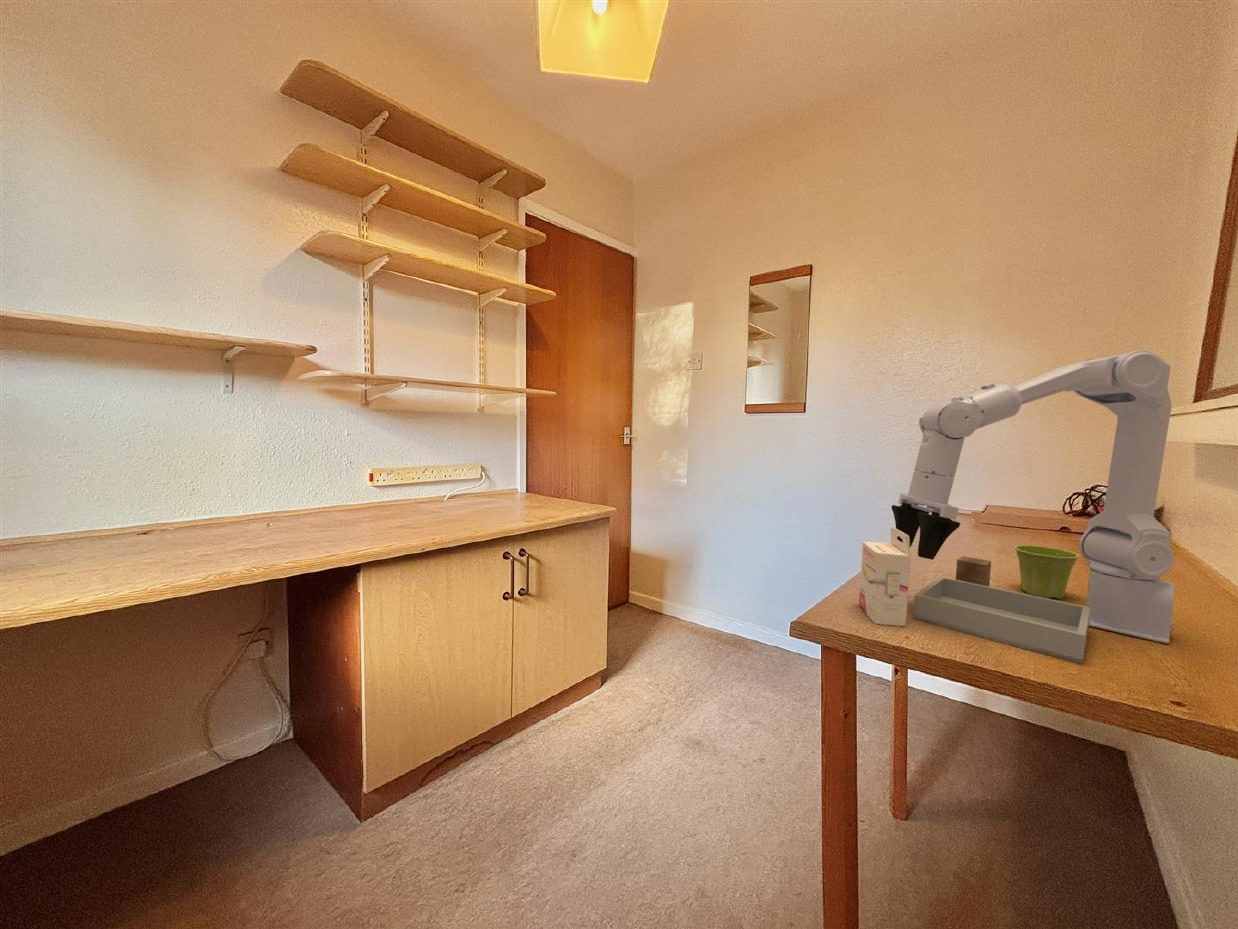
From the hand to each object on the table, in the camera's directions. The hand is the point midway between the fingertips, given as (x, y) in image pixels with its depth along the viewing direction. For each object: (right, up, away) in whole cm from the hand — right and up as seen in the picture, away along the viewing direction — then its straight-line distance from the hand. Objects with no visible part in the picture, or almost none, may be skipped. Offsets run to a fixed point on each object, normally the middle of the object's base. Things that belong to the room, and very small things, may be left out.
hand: (913, 552), depth 79 cm
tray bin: (+11, -11, -4) cm, 16 cm away
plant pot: (+33, -11, +12) cm, 37 cm away
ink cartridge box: (-6, -11, -1) cm, 12 cm away
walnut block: (+18, -10, +10) cm, 23 cm away
